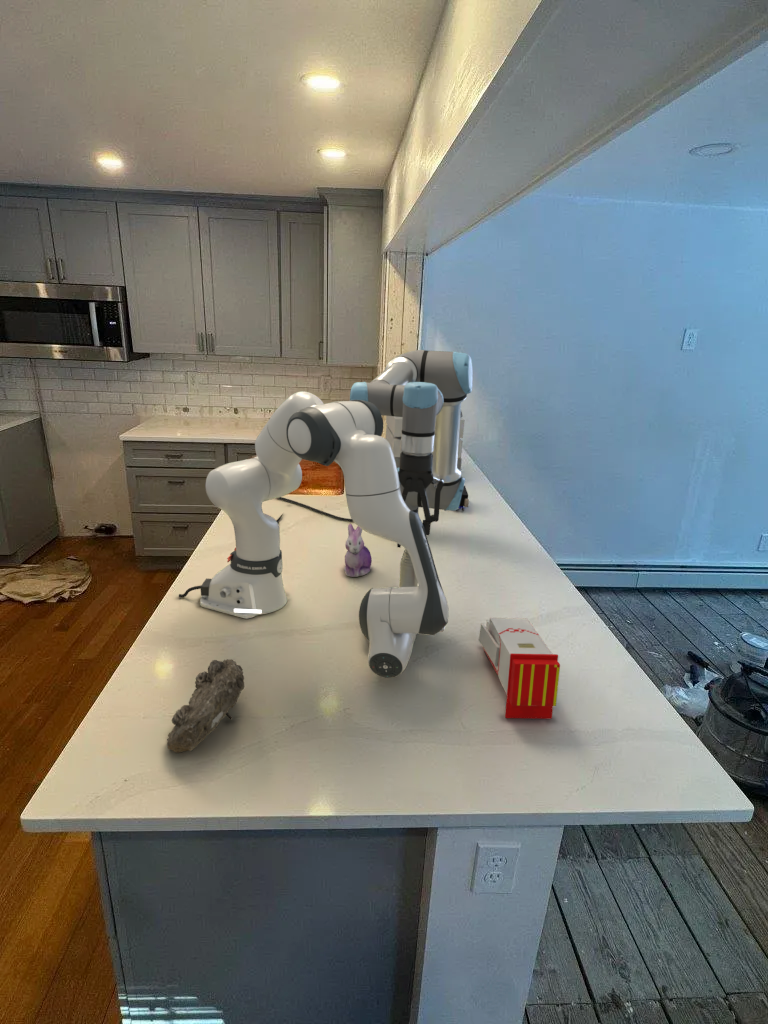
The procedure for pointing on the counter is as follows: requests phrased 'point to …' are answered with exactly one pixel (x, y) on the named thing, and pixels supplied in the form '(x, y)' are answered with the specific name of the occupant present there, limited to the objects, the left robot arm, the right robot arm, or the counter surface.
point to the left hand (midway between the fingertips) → (407, 598)
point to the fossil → (206, 705)
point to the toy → (522, 666)
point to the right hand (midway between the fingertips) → (410, 546)
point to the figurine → (356, 554)
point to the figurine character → (464, 499)
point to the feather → (279, 518)
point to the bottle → (407, 572)
